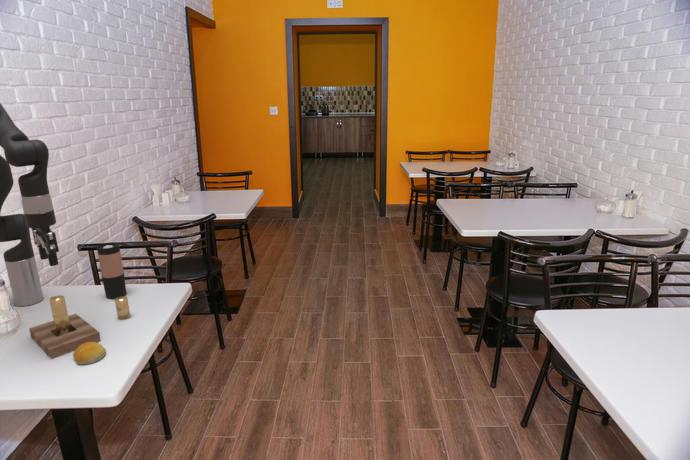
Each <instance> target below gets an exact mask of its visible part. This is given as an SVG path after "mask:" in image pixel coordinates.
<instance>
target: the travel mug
mask: <svg viewBox="0 0 690 460" xmlns="http://www.w3.org/2000/svg"><path fill="white" fill-rule="evenodd" d="M120 248H121V247H120V243H118V242H105V243H102V244H99V245H98V246H96V249H97V256H98V257H97V258H98V263H99V268H100V276H101V280H102V285H103V289H104V290H103V291H104V293H105V298H106V299H107V300H115V298H117V297H121V296H127V287H126V279H125V272H124V266H123V260H122V253H121V249H120Z"/></svg>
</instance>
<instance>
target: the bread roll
mask: <svg viewBox="0 0 690 460" xmlns="http://www.w3.org/2000/svg"><path fill="white" fill-rule="evenodd" d="M106 352H107V349H106V348H105V347H104V346H103V345H102V344H101V343H99V342H87V343H84V344H82V345H80V346H79V347H78V348H77V349H76V350H74V351H73V353H72V357H73V359H74V360H75V363H77V364H78V365H90V364H94V363H97V362H99V361H100V360H101V359H103V358H104V357H105V356H106Z"/></svg>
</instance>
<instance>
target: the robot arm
mask: <svg viewBox="0 0 690 460" xmlns="http://www.w3.org/2000/svg"><path fill="white" fill-rule="evenodd" d="M0 147H1V148H2V150H3V152H4V156H5V157H4V156H2V155H1V154H0V214H1V212H2V209H3V205H4V203H5V201H6V199H7V198H8V196H9V195H10V193H11V191H12V189H13V187H14V177H13V173H12V167H16V168H21V167H30V166H33V169H32V170H31V171H30V172H28V173H25V174H21V175H20V176H19V177H18V179H17V183H18V186H19V187H18V188H19V192H20V197H21V205H22V211H23V213H14V214H9V215H8V214H7V215H0V243H6V242H7V243H8V242H13V241H20V242H19V243H18V244H16V245H14V246H13V247H11V248H9V249H7V250H5V251H4V253H3V259H4V265H5V268H6V272H7V276H8V280H9V281H8V282H9V285H10V289H11V294H12V297H13V301H14V302H13V303H14V305H15V306H17V307H27V306H32V305H35V304H37V303H40V302H41V301H43V300H44V295H43V294H44V293H43V290H42V288H43V287H42V284H41V280H40V275H39V271H38V266H37V261H36V257H35V253H34V249H33V244H32V238H31V232H30V231H32V237H33V243H34V245H35V246H36V248H37V249H38V253H39V259H41V260H42V261H43V260H47V259H48V265H49V266H51V267H55V266H58V265H59V260H58V258H59V257H58V254H57V253H59V251H60V249H59V245H58V241H57V236H56V232H55V231H53V230H52V229H51V228H50V227H51V226H54V225H55V224H56V223H57V220H56V214H55V209H54V204H53V200H52V197H51V193H50V188H49V184H48V164H49V158H50V152H49V147H48V146H47V144H46V143H45V142H44V141H42V140H40V139H29V137H28V135H27V134H25V133H24V132H23V131H22V130H21V129H19V127H18V126H17V125H16V124H15V123H14V121H13V120H12V118H11V116H10V115H9V113H8V112H7V110H6V109H5V108H4V106H3V105H2V103H0ZM11 166H12V167H11ZM30 229H31V230H30ZM51 247H52V248H51Z"/></svg>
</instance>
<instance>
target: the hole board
mask: <svg viewBox="0 0 690 460" xmlns="http://www.w3.org/2000/svg"><path fill="white" fill-rule="evenodd" d="M68 318H69V323H70V328H71V332H69V333H66V334H64V335H61V336H58V337H57V333H56V329H55V324H54V320H52V321H48V322H45V323H42V324H39V325H35V326H32V327H30V328H28V329H29V335H30V338H31V339H32V340H33V341H34V342H35V343H36V344H37V346H39V348H41V350H42V351H43V352H44V353H46V355H47V357H49V358H50V359H51V360H53V359H55V358H59V357H60V356H63V355H66V354H68V353H72V352H74V351H75V350H76V349H77V348H78V347H79V346H80V345H82V344H84V343H87V342H97V343H99V342H101V335H100V332H99V331H98V330H97V329H96V328H94V327H93V326H92V325H91V324H90V323H89V322H87V321H86V320H84V319H83V317H81V316H80V315H79V314H77V313H73V314H70V315H68Z"/></svg>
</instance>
